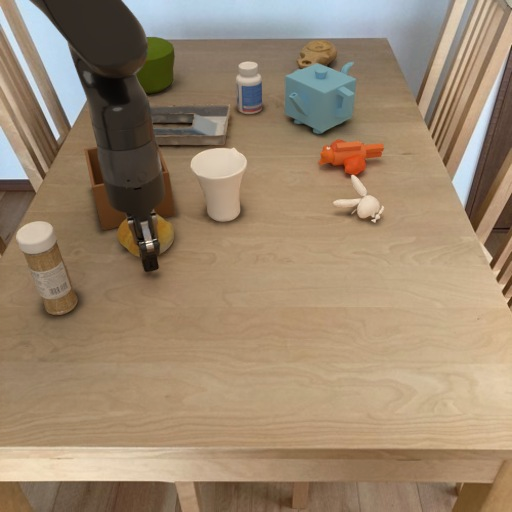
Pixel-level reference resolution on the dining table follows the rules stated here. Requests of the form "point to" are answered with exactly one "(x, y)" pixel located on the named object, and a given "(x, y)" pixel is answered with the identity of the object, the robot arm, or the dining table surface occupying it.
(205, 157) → the cup
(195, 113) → the grey flat rectangular tray
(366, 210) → the rabbit figurine
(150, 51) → the green piece
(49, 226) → the sprinkles bottle
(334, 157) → the orange toy bird
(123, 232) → the bread roll
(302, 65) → the oil lamp
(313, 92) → the teapot
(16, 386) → the dining table surface
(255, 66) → the pill bottle
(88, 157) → the box
